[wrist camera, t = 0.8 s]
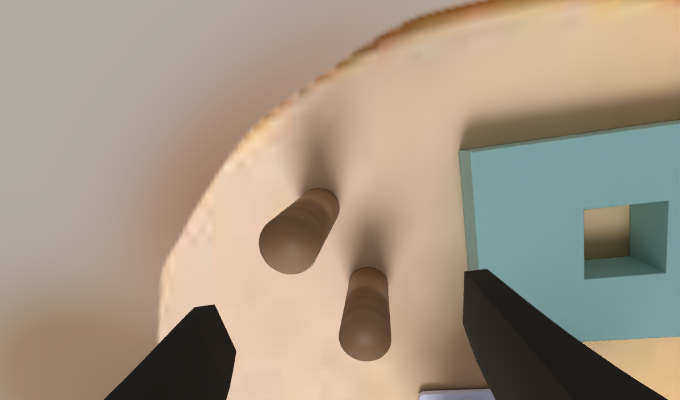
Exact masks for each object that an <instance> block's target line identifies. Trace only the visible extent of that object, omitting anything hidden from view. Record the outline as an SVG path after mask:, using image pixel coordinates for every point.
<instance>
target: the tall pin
mask: <svg viewBox="0 0 680 400" xmlns="http://www.w3.org/2000/svg"><path fill="white" fill-rule="evenodd" d="M338 214H339V203H338V200H337V198H336V197H335V196H334V194H332V193H331V192H330V191H328V190H326V189H321V188H317V189H313V190H310V191H309V192H307V193H306V194H304V195H303V196H302V197H301V198H299V199H298V200H297V201H295V202H294V203H293V204H292V205H290V206H289V207H288V208H286V209H285V210H284V211H283V212H281V213H280V214H279V215H277V216H276V217H275V218H274V219H272V220H271V221H270V222H269V223H267V224H266V225H265V227H264V228H263V230H262V232H261V234H260V238H259V248H260V252H261V255H262V257H263V259H264V260H265V262H266V263H267V264H268V265H269V266H270V267H271V268H273V269H274V270H276V271H278V272H281V273H284V274H298V273H301V272H303V271H305V270H307V269H308V268H310V267H311V266H312V264H313V263H314V262H315V260H316V258H317V256H318V254H319V252H320V250H321V248H322V246H323V244H324V242H325V240H326V238H327V236H328V234H329V233H330V231H331V229H332V227H333V225H334V223H335V221H336V219H337V217H338Z"/></svg>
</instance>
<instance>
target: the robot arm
mask: <svg viewBox="0 0 680 400" xmlns="http://www.w3.org/2000/svg"><path fill="white" fill-rule="evenodd" d="M463 325H464V328H465V331H466V333H467V336H468V339H469V342H470V345H471V347H472V350H473V353H474V355H475V358H476V361H477V363H478V365H479V367H480V369H481V371H482V373H483V375H484V377H485V379H486V381H487V384H488V386H489V388H490V389H468V390H440V391H422V392H420V393H419V400H668V399H666V398H664V397H663V396H661V395H660V394H658V393H656V392H655V391H653V390H652V389H650V388H648V387H647V386H645V385H644V384H642V383H640V382H639V381H637V380H636V379H634V378H633V377H631V376H630V375H628V374H627V373H625V372H623V371H622V370H620V369H619V368H617V367H616V366H614V365H613V364H612V363H610V362H609V361H607V360H606V359H604V358H603V357H602V356H600V355H599V354H597V353H596V352H594V351H593V350H591V349H590V348H589V347H587V346H586V345H584V344H583V343H582V342H580V341H579V340H577V339H576V338H575V337H573V336H572V335H571V334H569V333H568V332H567V331H565V330H564V329H563V328H561V327H560V326H559V325H557V324H556V323H555V322H553V321H552V320H551V319H549V318H548V317H547V316H545V315H544V314H543V313H542V312H540V311H539V310H538V309H536V308H535V307H534V306H533V305H531V304H530V303H529V302H528V301H526V300H525V299H524V298H523V297H521V296H520V295H519V294H518V293H516V292H515V291H514V290H513V289H511V288H510V287H509V286H508V285H507V284H505V283H504V282H503V281H502V280H500V279H499V278H498V277H497V276H496V275H494V274H493V273H492V272H490V271H489V270H488V269H480V270H473V271H465V272H464V305H463ZM235 356H236V349H235V347H234V345H233V343H232V341H231V339H230V337H229V334H228V332H227V330H226V328H225V326H224V324H223V321H222V319H221V317H220V315H219V313H218V311H217V309H216V306H215V305H208V306H200V307H194V308H193V309H192V310H191V311H190V312H189V313H188V314H187V315H186V316H185V317H184V318H183V319H182V320H181V321H180V322H179V323H178V324H177V325H176V326H175V327H174V329H173V330H172V331H171V332H170V333H169V334H168V335H167V336H166V337H165V338H164V339H163V340H162V341H161V342H160V343H159V344H158V345H157V346H156V347H155V348H154V350H153V351H152V352H151V353H150V354H149V355H148V356H147V357H146V358H145V359H144V360H143V361H142V362H141V363H140V364H139V365H138V366H137V367H136V368H135V369H134V370H133V371H132V372H131V373H130V374H129V375H128V376H127V377H126V378H125V379H124V380H123V381H122V382H121V383H120V384H119V385H118V386H117V387H116V388H115V389H114V390H113V391H112V392H111V393H110V394H109V395H108V396H107V397H106V398H105V399H104V400H226V398H227V395H228V392H229V388H230V383H231V378H232V373H233V368H234V362H235Z"/></svg>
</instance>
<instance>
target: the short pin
mask: <svg viewBox="0 0 680 400" xmlns="http://www.w3.org/2000/svg"><path fill="white" fill-rule="evenodd" d="M339 341H340V344H341V347H342V348H343V350H344V351H345V352H346V353H347V354H348V355H349V356H351V357H352V358H354V359H357V360H360V361H373V360H377V359H379V358H381V357H382V356H384V355H385V354H386V353H387V351H388V350H389V348H390V345H391V327H390V312H389V296H388V283H387V279H386V277H385V276H384V275H383V274H382V273H381V272H380V271H379V270H377V269H374V268H370V267H365V268H361V269H359V270H357V271H356V272H354V273H353V275H352V276H351V278H350V281H349V286H348V291H347V296H346V301H345V306H344V311H343V316H342V321H341V326H340V331H339Z"/></svg>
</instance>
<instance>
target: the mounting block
mask: <svg viewBox="0 0 680 400" xmlns="http://www.w3.org/2000/svg"><path fill="white" fill-rule="evenodd" d="M459 162H460V174H461V186H462V198H463V211H464V223H465V235H466V248H467V260H468V271H473V270H480V269H488V270H489V271H490V272H492V273H493V274H494V275H496V276H497V277H498V278H499V279H500V280H502V281H503V282H504V283H505V284H507V285H508V286H509V287H510V288H511V289H513V290H514V291H515V292H516V293H518V294H519V295H520V296H521V297H523V298H524V299H525V300H526V301H528V302H529V303H530V304H531V305H533V306H534V307H535V308H536V309H538V310H539V311H540V312H542V313H543V314H544V315H545V316H547V317H548V318H549V319H551V320H552V321H553V322H555V323H556V324H557V325H559V326H560V327H561V328H563V329H564V330H565V331H567V332H568V333H569V334H571V335H572V336H573V337H575V338H576V339H577V340H579V341H580V342H585V341H604V340H622V339H641V338H660V337H679V336H680V120H673V121H666V122H659V123H652V124H645V125H637V126H630V127H623V128H616V129H609V130H602V131H595V132H588V133H581V134H573V135H566V136H559V137H552V138H545V139H538V140H531V141H524V142H517V143H510V144H502V145H495V146H488V147H481V148H474V149H467V150H460V151H459ZM623 205H630V256H623V257H612V258H601V259H589V260H584V210H586V209H595V208H604V207H613V206H623Z"/></svg>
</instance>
